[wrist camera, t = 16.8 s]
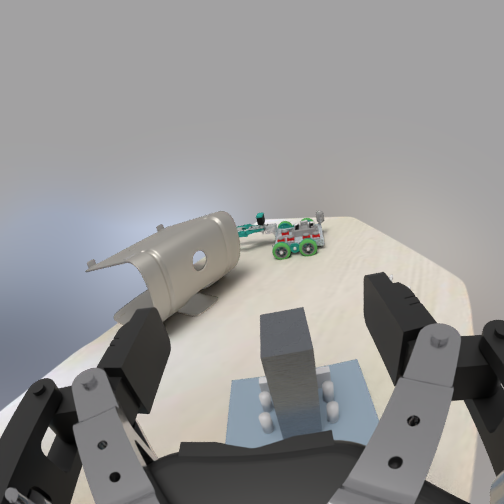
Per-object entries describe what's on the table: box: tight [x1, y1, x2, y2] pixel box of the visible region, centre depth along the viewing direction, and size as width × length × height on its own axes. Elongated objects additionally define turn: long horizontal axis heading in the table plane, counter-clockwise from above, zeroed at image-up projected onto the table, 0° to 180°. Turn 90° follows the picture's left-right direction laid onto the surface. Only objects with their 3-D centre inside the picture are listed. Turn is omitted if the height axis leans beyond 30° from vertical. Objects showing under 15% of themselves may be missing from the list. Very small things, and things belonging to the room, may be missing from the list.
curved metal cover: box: [85, 211, 240, 325], centre depth 61 cm, size 26×24×16 cm
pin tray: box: [225, 359, 379, 448], centre depth 29 cm, size 16×14×4 cm
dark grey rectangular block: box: [260, 307, 322, 439], centre depth 27 cm, size 4×6×12 cm, turn 0°
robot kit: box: [237, 211, 324, 260], centre depth 78 cm, size 19×25×9 cm
